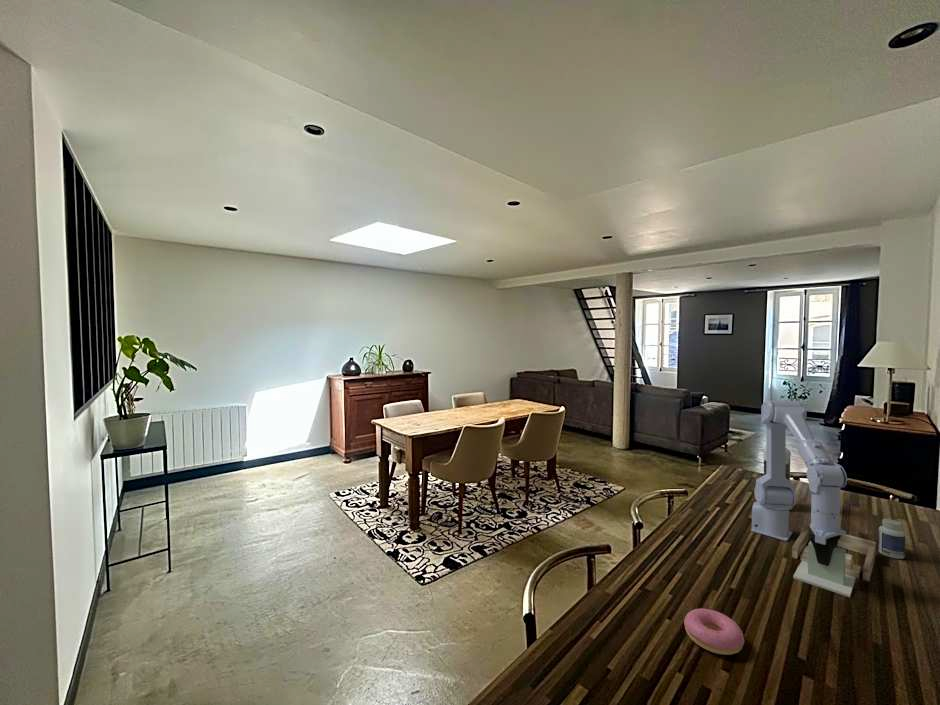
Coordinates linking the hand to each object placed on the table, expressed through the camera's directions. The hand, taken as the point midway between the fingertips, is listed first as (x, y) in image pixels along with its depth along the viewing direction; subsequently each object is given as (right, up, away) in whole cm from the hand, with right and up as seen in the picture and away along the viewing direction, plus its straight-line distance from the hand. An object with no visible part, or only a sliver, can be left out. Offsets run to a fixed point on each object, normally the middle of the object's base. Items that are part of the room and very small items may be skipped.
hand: (824, 561), depth 107 cm
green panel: (0, -4, 0) cm, 4 cm away
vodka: (+22, -3, +47) cm, 52 cm away
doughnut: (-42, -6, -21) cm, 47 cm away
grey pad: (0, -5, 0) cm, 4 cm away
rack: (+12, -4, +11) cm, 17 cm away
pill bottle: (+30, -4, +12) cm, 32 cm away
